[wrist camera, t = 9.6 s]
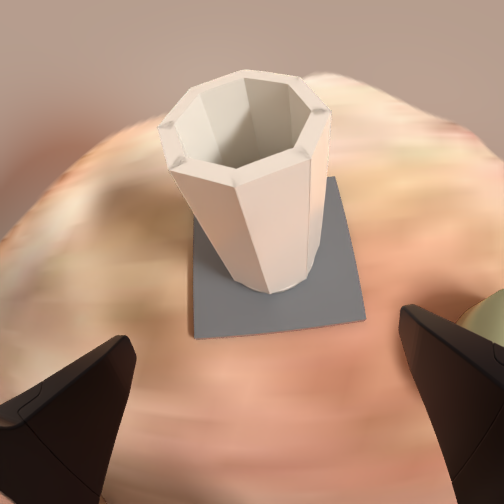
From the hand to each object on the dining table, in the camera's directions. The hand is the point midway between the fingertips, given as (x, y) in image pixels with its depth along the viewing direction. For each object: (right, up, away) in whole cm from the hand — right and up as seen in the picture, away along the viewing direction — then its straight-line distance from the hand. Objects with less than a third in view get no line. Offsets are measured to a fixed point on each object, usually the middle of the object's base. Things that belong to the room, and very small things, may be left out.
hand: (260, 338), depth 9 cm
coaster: (+1, +2, +14) cm, 14 cm away
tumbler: (+1, +3, +14) cm, 14 cm away
